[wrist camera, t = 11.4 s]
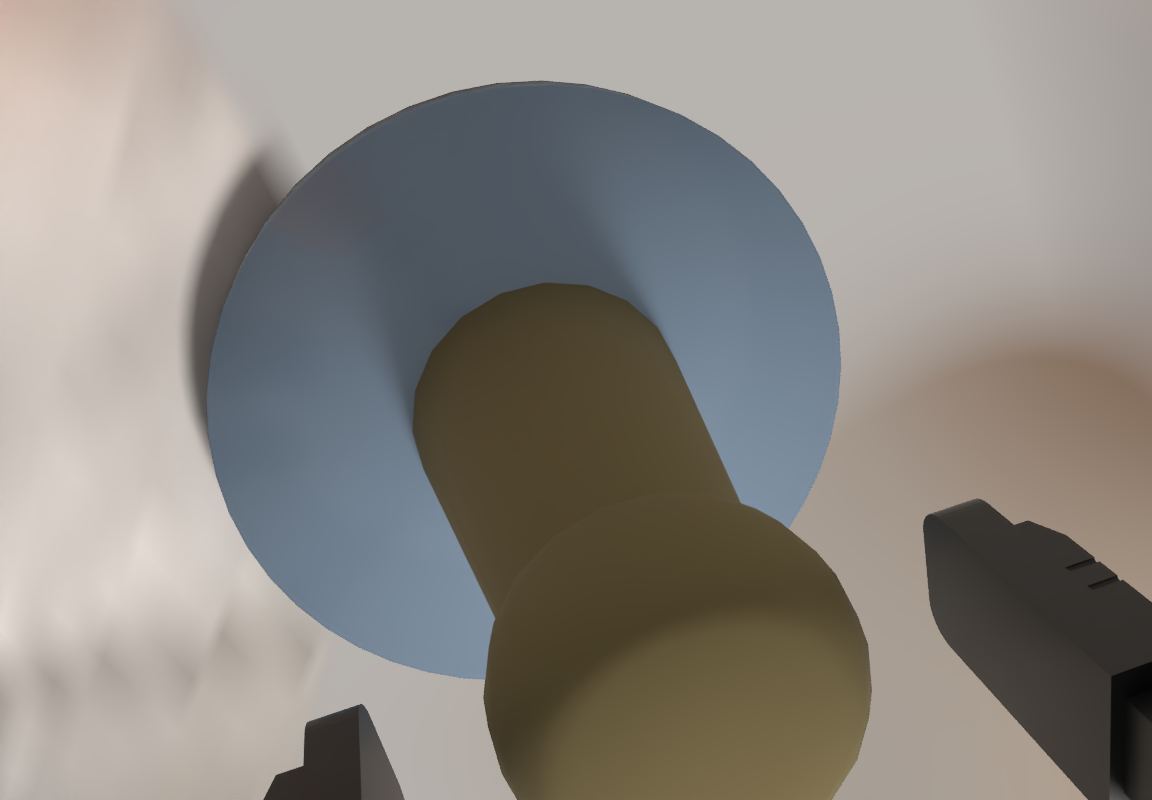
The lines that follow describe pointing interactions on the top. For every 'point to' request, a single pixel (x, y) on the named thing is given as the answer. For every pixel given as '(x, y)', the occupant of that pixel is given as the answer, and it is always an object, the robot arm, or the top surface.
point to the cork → (629, 569)
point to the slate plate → (466, 281)
